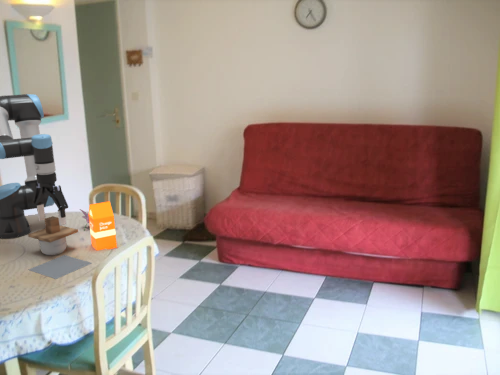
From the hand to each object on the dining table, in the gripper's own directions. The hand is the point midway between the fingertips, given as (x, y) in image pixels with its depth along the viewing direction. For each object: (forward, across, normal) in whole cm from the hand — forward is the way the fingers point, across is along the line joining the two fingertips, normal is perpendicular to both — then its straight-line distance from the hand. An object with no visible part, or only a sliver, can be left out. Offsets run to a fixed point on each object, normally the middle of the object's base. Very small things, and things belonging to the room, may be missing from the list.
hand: (52, 222), depth 210 cm
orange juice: (+13, +14, +14) cm, 24 cm away
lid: (+5, 0, 0) cm, 5 cm away
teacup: (+14, 0, 0) cm, 14 cm away
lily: (+14, -10, +28) cm, 33 cm away
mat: (+13, +16, -10) cm, 23 cm away
